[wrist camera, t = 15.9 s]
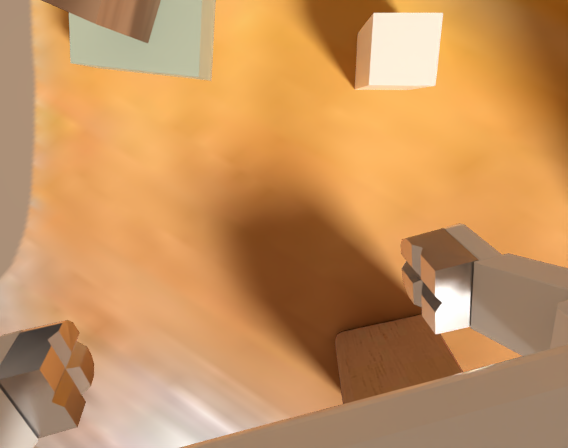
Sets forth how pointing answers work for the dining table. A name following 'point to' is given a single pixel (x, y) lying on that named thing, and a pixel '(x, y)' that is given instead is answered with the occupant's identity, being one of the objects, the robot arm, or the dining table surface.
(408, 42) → the off-white block
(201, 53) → the base block
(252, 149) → the dining table surface
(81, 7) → the walnut block
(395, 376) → the block
